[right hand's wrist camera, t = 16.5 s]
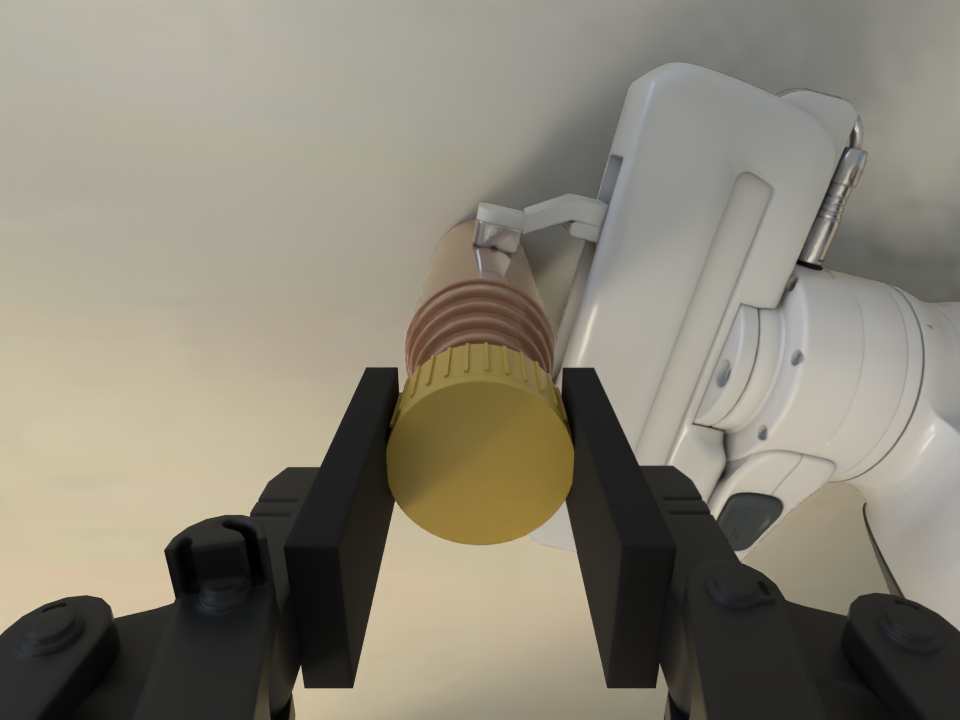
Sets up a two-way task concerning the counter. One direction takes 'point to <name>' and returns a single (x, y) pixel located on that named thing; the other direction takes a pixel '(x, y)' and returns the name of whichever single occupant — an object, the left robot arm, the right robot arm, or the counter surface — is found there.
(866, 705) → the right robot arm
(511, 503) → the cap
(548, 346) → the bottle
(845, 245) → the counter surface
